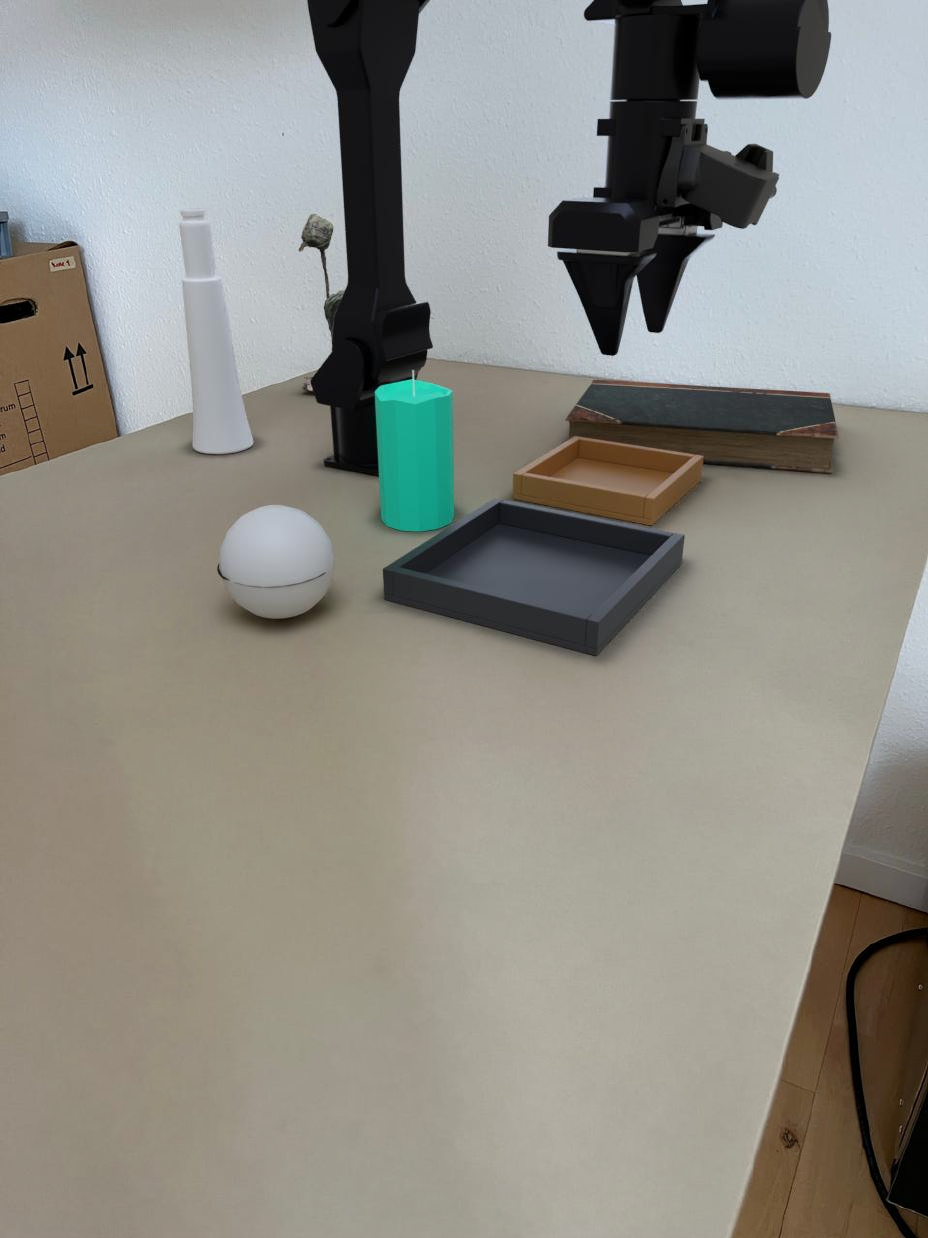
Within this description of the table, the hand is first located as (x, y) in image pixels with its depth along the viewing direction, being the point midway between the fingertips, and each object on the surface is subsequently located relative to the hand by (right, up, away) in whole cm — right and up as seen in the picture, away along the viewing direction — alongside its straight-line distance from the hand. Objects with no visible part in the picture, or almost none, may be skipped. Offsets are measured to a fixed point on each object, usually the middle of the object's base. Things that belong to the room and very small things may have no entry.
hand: (633, 342), depth 69 cm
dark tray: (-7, -18, -3) cm, 19 cm away
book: (+12, -2, +27) cm, 30 cm away
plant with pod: (-27, +8, +46) cm, 54 cm away
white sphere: (-25, -21, -8) cm, 33 cm away
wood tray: (0, -9, +14) cm, 16 cm away
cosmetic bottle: (-37, -3, +26) cm, 45 cm away
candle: (-16, -12, +8) cm, 22 cm away
